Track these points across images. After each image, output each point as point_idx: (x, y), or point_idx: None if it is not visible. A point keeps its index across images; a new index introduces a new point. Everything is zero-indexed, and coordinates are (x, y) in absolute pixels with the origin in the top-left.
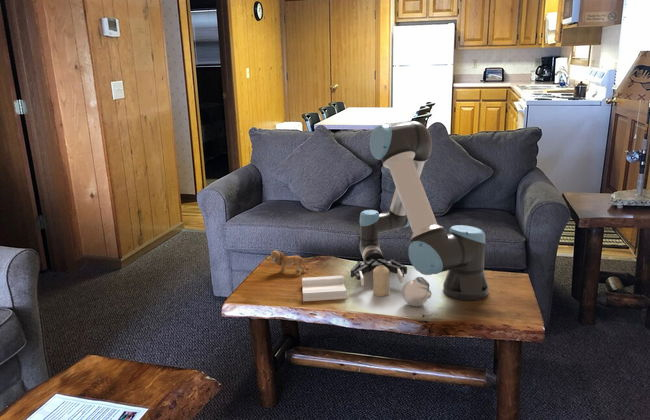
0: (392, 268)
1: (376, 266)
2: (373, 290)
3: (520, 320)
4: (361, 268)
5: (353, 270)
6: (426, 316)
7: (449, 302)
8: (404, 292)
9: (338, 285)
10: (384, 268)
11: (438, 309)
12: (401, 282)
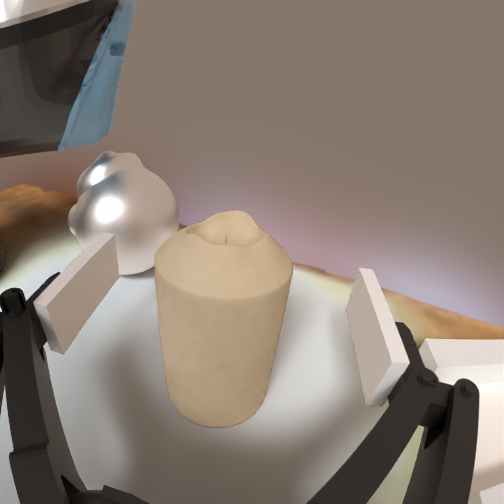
0: (42, 385)
1: (265, 235)
2: (266, 388)
3: (17, 193)
4: (395, 423)
5: (456, 386)
6: None
7: (34, 250)
8: (177, 206)
9: (476, 472)
10: (203, 221)
11: None
12: (117, 272)
